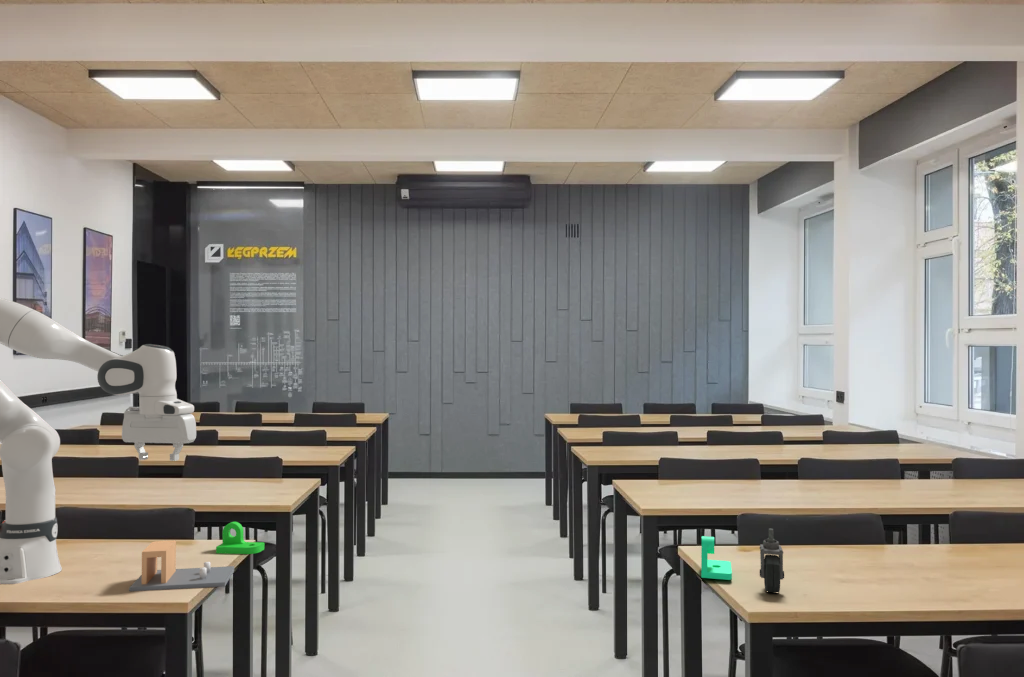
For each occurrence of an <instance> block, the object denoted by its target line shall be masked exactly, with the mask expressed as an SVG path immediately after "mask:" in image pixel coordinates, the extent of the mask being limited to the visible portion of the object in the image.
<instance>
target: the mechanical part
mask: <svg viewBox="0 0 1024 677" xmlns="http://www.w3.org/2000/svg"><path fill="white" fill-rule="evenodd" d="M231 530H234V531H235V535H232V534H231ZM262 551H265V542H257V541H254V542H252V541H246V540H245V539H244V527H243V526H242V524H241V523H240V522H238V521H230V522H229V523H227V524H225V525H224V527H223V528H222V543H220V544H219V545H217V546H216V547H215V554H222V555H223V554H225V555H226V554H227V555H228V554H231V555H239V554H240V555H254V554H258V553H261V552H262Z"/></svg>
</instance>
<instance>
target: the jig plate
mask: <svg viewBox="0 0 1024 677" xmlns="http://www.w3.org/2000/svg"><path fill="white" fill-rule="evenodd" d="M234 572H235V566H234V565H231V566H230V565H229V566H211V561H204V562H203V567H191V568H190V567H188V568H176V571H175V573H174V574H173V575H172V576H171V577H170V579H169V580H168V581H167V582H166V583H161V569H157V573H156V574H155V575H154V576H153V577H152V578H151V580H150V581H149V582H148V583H147V584H142V574H141V575H140V576H139V577H138V578H137V579H136V580H134V582H133V583H132V584H131V585H130V586H129V589H128V591H129V592H139V591H141V592H143V591H144V592H145V591H158V590H159V591H161V590H179V589H180V590H181V589H199V588H200V589H202V588H203V589H204V588H219V587H220V588H221V587H226V585H227V584H228V582H229V580H230V579H231V577H232V576H233V573H234Z"/></svg>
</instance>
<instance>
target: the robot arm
mask: <svg viewBox="0 0 1024 677" xmlns="http://www.w3.org/2000/svg"><path fill="white" fill-rule="evenodd" d="M0 344H1V345H3V346H5V347H7V348H9V349H11V350H13V351H16V352H18V353H19V354H20V353H21V354H23V355H26V356H29V357H34V358H36V359H42V360H43V359H44V360H59V361H60V360H61V361H62V360H63V361H67V362H73V363H77V364H80V365H82V366H84V367H87V368H89V369H92V370H94V371H96V372H97V374H96V375H97V383H98V385H99V387H100V388H101V389H102V390H103V391H104V392H106V393H108V394H110V395H115V396H124V395H125V396H126V395H129V394H132V395H136V394H137V395H138V396H139V397H138V398H139V400H138V403H139V406H128V408H126V409H125V410H124V412H123V420H122V427H121V428H122V429H121V440H122V441H123V442H124V443H134V448H135V450H136V452H137V453H138V460H140V461H146V460H148V459H149V452H148V451H146V449H145V447H144V446H146V444H149V443H150V444H153V443H154V444H172V448H174V449H173V451H172V453H170V454H169V461H170V462H172V461H173V462H174V461H175V462H176V461H179V460H180V453H181V451H182V449H183V447H184V444H191V443H194V441H195V440H196V438H197V423H196V418H195V416H194V415H193V413H194V411H195V405H193V404H192V403H190V402H186V401H184V400H181V399H179V398H178V394H177V389H176V381H177V376H178V375H177V372H178V371H177V360H176V356H175V355H176V354H175V352H174V350H173V349H172V348H170V347H169V346H166V345H159V344H152V343H146V344H142V345H141V346H140V347H138V348H137V349H136V350H134V351H132V352H130V353H128V354H125V355H123V354H120V353H117V352H114V351H112V350H110V349H109V348H108V349H107V348H105V347H104V346H101V345H99V344H96V343H94V342H92V341H90V340H88V339H85V338H83V337H81V336H80V335H78V334H77V333H75V332H73V330H70V329H69V328H67V327H65V326H64V325H62V324H61V323H59V322H57V321H56V320H54V319H52V318H51V317H49V316H47V315H46V314H43V313H42V312H40V311H37V310H35V309H33V308H31V307H30V306H27V305H24V304H22V303H19V302H16V301H13V300H9V299H5V298H2V297H0ZM0 443H1V445H0V460H1V471H2V477H3V482H4V489H5V519H4V520H3V521H2V523H0V585H15V584H21V583H24V582H29V581H34V580H40V579H43V578H48V577H51V576H53V575H56V574H58V573H60V572H61V571H62V569H63V568H62V565H61V562H60V558H59V554H58V553H59V552H58V546H57V538H58V517H57V516H56V491H57V490H56V485H55V481H54V473H53V471H54V470H53V462H52V461H53V460H52V459H53V458H54V457H55V456H56V455H57V453H58V452H59V449H60V447H61V437H60V435H59V433H58V432H57V430H56V429H55V428H54V427H52V426H51V425H50V424H49V423H48V422H47V421H46V420H45V419H43V417H41V416H40V415H39V414H38V413H36V412H35V410H33V409H32V408H31V407H29V406H28V405H27V404H25V403H24V402H23V401H22V400H21V399H20V398H19V397H17V395H16V394H15V393H14V392H13V391H12V390H11V389H10V388H9V387H8V386H7V385H6V384H5V383H4V381H2V380H1V379H0Z"/></svg>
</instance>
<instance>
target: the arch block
mask: <svg viewBox="0 0 1024 677" xmlns="http://www.w3.org/2000/svg"><path fill="white" fill-rule="evenodd" d="M158 558H160V559H161V560H160V561H161V564H160V566H161V568H160V570H161V583H166V582H167V581H168V580H169V579H170V577H171V576H172V575H173V574H174V573H175V571H176V569H177V568H176V567H177V563H176V562H177V560H176V559H177V541H176V540H160V541H159V540H157V541H156V540H154V541H152V542H150V544H149V545H148V546H146V547H145V548H144V549H143V550H142V551H141V575H142V584H147V583H148V582H149V581H150V580H151V578H152V577H153V576H154V575H155V574H156V573H157V570H158Z"/></svg>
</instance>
